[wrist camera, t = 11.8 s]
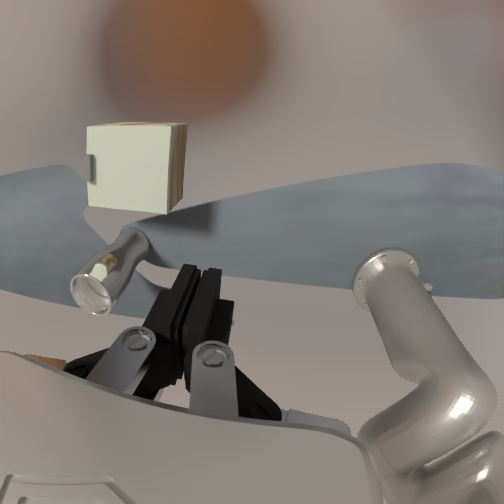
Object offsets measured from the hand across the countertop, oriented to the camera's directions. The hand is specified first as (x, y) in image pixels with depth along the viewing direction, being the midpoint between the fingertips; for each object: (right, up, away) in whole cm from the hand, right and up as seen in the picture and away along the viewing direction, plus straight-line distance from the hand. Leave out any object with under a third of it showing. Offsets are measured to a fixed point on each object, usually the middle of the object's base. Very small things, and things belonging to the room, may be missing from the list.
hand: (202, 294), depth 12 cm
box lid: (-14, +13, +20) cm, 27 cm away
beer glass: (-18, +3, +33) cm, 37 cm away
